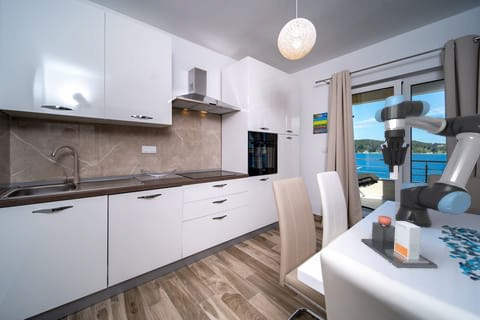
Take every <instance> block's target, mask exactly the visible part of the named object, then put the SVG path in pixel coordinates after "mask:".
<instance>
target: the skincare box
mask: <svg viewBox="0 0 480 320" xmlns="http://www.w3.org/2000/svg"><path fill="white" fill-rule="evenodd" d="M394 227H395V242H394V251H396V252H397V253H399V254H400V255H402V256H403V257H405V258H407V259H408V260H417V259H419V255H420V248H421V246H420V244H421V229H422V227H419V226H416V225H414V224H412V223H409V222H406V221H397V220H395V225H394Z"/></svg>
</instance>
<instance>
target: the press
mask: <svg viewBox="0 0 480 320" xmlns="http://www.w3.org/2000/svg"><path fill="white" fill-rule="evenodd" d="M371 225H372V227H371V238H361V239H360V240H361V242H362V243H363V244H364V245H365V246H366V247H368V248H370V249H371V250H372V251H374V252H375V253H376V254H378V255H379V256H381V257H382V258H383V259H385V260H386V261H387V260H388V261H387V262H389V263H390V264H391V263H392V266H394V267H396V268H397V269H438V264H437V263H435V262H433V261H432V260H430V259H428V258H426V257H424V256H423V255H421V254H419V259H417V260H408V259H407V258H405V257H403V256H402V255H400V254H399V253H397V252H396V251H394V242H395V225H393V224H391V225H387V226H382V224H381V223H379V222H378V221H377V222H374V221H373V222H372V224H371Z"/></svg>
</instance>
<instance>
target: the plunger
mask: <svg viewBox="0 0 480 320" xmlns="http://www.w3.org/2000/svg"><path fill="white" fill-rule="evenodd" d="M377 219H378V220H377V222H379V223H381V224H382V226H387V225H392V217H390V216H386V215H378V217H377Z"/></svg>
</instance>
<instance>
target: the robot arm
mask: <svg viewBox="0 0 480 320" xmlns="http://www.w3.org/2000/svg"><path fill="white" fill-rule="evenodd" d="M406 97H407V96H406V95H405V94H395V95H391V96H388V97H386V99H384V107H383V108H380V109H378V110H377V111H376V112H375V114H374V118H375V121H376V122H378V123H384V143H382V144H379V148H380V150H381V153H382V158H383V162H384V163H383V164H385V165H387V166H388V172H389V179H390V180H398V179H399V172H400V166H402V165H403V164H404V163H405V159H406V155H407V152H408V148H409V147H410V146H411V145H410V143H406V142H405V139H404V138H405V137H406V129H405V128H406V127H410V128H414V129H417V130H422V131H426V133H428V134H430V135H433V136H434V135H435V136H440V137H445V138H450V139H451V138H452V139H455V138H456V140H458V141H457V143H456V145H455V146H454V149H453V151H452V154H451V155H450V157H449V159H448V162H447V164H446V166H445V168H444V170H443V172H442V175H441V176H440V179H439V180H437V181H434V182H433V183H432V185H431V186H430V183H427V182H403V183H401V184H400V190H399V191H400V192H399V194H400V195H399V208H398V210H397V212H396V214H395V221H406V222H409V223H412V224H414V225H416V226H419V227H421V228H431V227H432V220H431V219H430V214H429V212H428V211H429V210H433V211H436V212H440V213H443V214H448V215H453V216H456V215H457V216H458V215H462V214H464V213H465V212H467V210H468V209H469V208H470V206H471V204H472V201H471V200H472V197H471V196H470V194H469V193H468V190H467V188H466V185H467V183H468V180H469V178H470V176H471V174H472V171H473V169H474V168H475V165H476V164H477V161H478V159H479V157H480V113H474V114H465V115H461V116H460V115H459V116H452V117H451V116H450V117H440V116H438V117H437V116H436V117H433V116H430V115H429V116H428V115H427V114H428V113H429V112H430V110H431V105H430V103H429V102H428V101H426V100H419V99H418V100H407V98H406Z"/></svg>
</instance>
